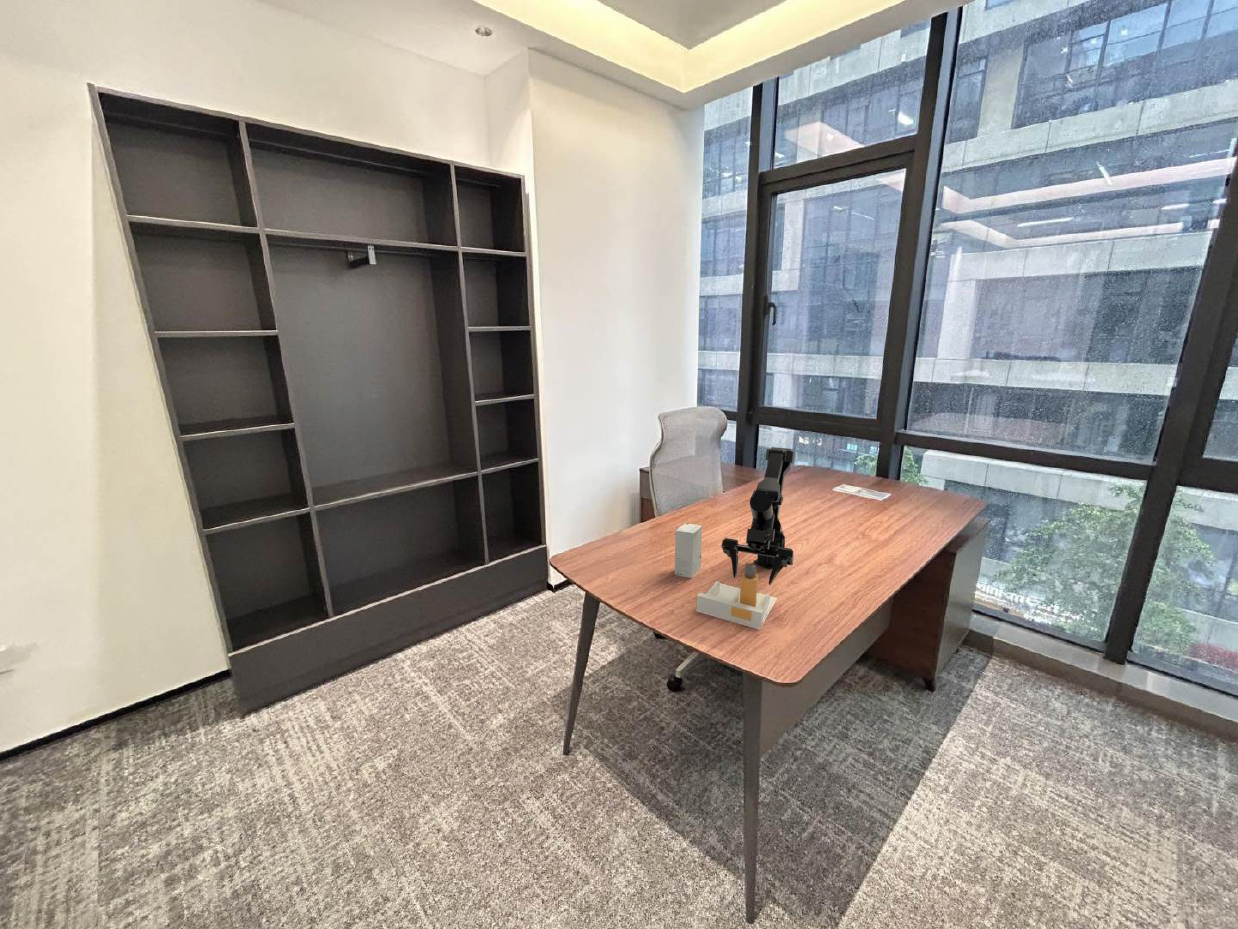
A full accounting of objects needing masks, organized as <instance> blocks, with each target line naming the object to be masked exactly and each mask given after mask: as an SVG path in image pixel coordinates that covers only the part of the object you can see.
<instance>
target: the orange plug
mask: <svg viewBox="0 0 1238 929" xmlns="http://www.w3.org/2000/svg"><path fill="white" fill-rule="evenodd" d="M756 565H757V564H755V563H746V564H745V570H744V571H742V575H741V577H740V578H741V579H740V588H741V589H740V603H742V604H746V605H749V606H753V607H756V605H757V593H759V592H758V591H759V575H760V574H759V573H756V572H757V571H756V570H757V566H756Z"/></svg>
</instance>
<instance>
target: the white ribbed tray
mask: <svg viewBox="0 0 1238 929" xmlns="http://www.w3.org/2000/svg"><path fill="white" fill-rule="evenodd" d="M740 589H741V587H736V586H734V585H733V586H731V585H728V584H724V583H721V582H720V581H715V583H713V585H712V586H711V588H710V589H709V590H708V591H707V592H706V593H703V592H699V593H698V594H697V595H696V609H695V612H696V613H701V614H705V615H708V616H712V617H714V618H719V619H721V620H725V621H728V622H732V623H735V624H739V625H742V626H746V627H750V628H752V629H757V630H761V628H762V626H763V624H764V623H765V621H766V619H767V617H768V616H769V615H770V614H769V613H770V612H771V610H772V608H773V607H774V605H775V603H776V601H777V600H778V597H775V596H772V595H771V594H767V593H766V594H764V593H760V592H757V605H756V607H753V606H749V605H746V604H742V603H740Z"/></svg>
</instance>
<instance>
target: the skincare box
mask: <svg viewBox="0 0 1238 929" xmlns="http://www.w3.org/2000/svg"><path fill="white" fill-rule="evenodd" d="M702 531H703V526H702V525H699V524H692V523H686V522H685V523H684V524H683V525H680V526H679V528H678V529H676V530H675V533H674V536H675V538H674V575H675V576H680V577H683V578H684V577H685V578H689V579H693V577H694V576H695V575H696V574H697V572H699V571H700V570H701V569H702V534H703V533H702Z"/></svg>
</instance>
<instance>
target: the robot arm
mask: <svg viewBox="0 0 1238 929" xmlns="http://www.w3.org/2000/svg"><path fill="white" fill-rule="evenodd" d="M765 461H766V462H767V466H766V469H765V473H764V477H763V479H762V480H761V481H760V482H758V483H757V486H756V488H755V489H754V490H753V493H752V494H751V496H750V499H749V506H750V507H749V508H750V512H751V513H750V514H751V515H752V520H751V524H750V528H747V530H746V531H747V532H746V538H745V540H746V542H745V543H746V544H747V545H745V544H739V541H738V539H734V538H727V537H725V538H723V539H722V541H721V544H720V545H721V549H722V552H723V553H724V554H725V555H726V556H727V557H728V558H730V560H731V566H732V575H733V579H736V577H737V573H738V564H739V553H740V552H741V553H745V554H746V553H747V554H752V555H757V558H756V559H755V560H753V564H755V565H759V566H761V567H762V568H766V569H768V570H771V572H770V576H769V577H768V578H769V580H768V585H769V586H771V585H772V584H773V582H774V580H775V578H776V577H777V576H778V574H779V573H780V572H781V571H782V570H783V569H784V568H787V567H788V566H793V564H794V556H795V555H794V554H795V553H794V550H793V549H792V548H790V547H786V536H785V535H784V534H785V533H784V531H783V528H782V524H781V522H780V520H779V516H780V509H781V506H782V504H783V502H784V497H783V488H784V483H785V480H784V479H785V476H786V475H787V474H788V472H790V470H791V467H792V464H794V462H795V451H792V448H785V447H776V446H775V447H774V446H771V447H770V448H769V449H768V448H767V449H766V453H765Z"/></svg>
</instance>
